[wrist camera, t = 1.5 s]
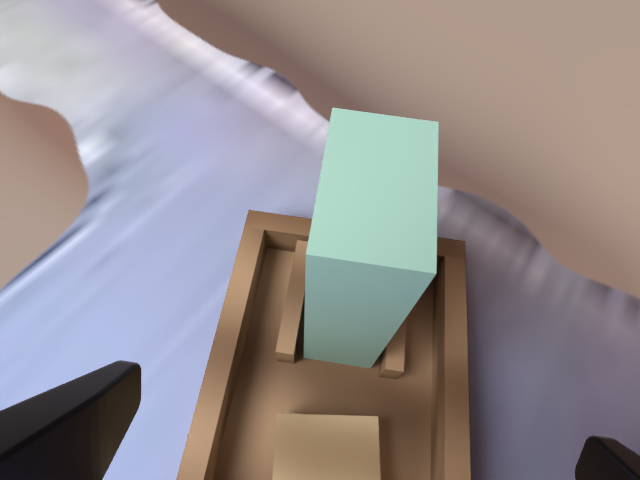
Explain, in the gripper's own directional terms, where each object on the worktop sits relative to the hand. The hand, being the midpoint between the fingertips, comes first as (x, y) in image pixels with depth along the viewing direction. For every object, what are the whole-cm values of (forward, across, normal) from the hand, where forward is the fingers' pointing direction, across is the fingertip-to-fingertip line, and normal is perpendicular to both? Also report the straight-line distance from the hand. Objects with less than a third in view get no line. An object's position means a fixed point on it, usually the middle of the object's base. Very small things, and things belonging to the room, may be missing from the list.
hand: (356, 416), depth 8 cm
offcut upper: (+6, 0, +8) cm, 10 cm away
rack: (+10, 0, +7) cm, 12 cm away
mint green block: (+12, 0, +4) cm, 13 cm away
